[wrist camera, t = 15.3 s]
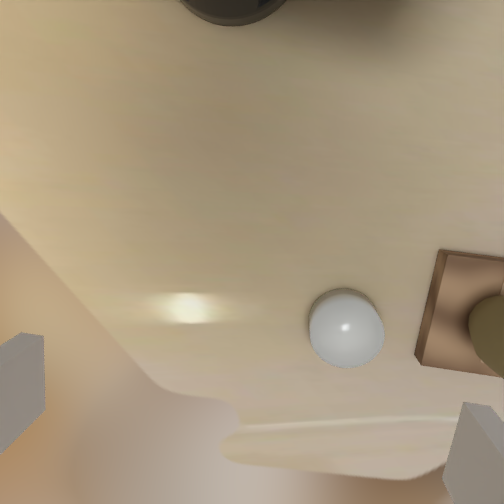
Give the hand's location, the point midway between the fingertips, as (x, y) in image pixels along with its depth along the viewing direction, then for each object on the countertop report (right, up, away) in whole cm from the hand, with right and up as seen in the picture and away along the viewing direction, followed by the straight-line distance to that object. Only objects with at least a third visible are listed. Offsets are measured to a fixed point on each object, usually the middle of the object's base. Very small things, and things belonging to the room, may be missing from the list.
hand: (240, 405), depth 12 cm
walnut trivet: (+27, -2, +31) cm, 41 cm away
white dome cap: (+11, -3, +33) cm, 35 cm away
